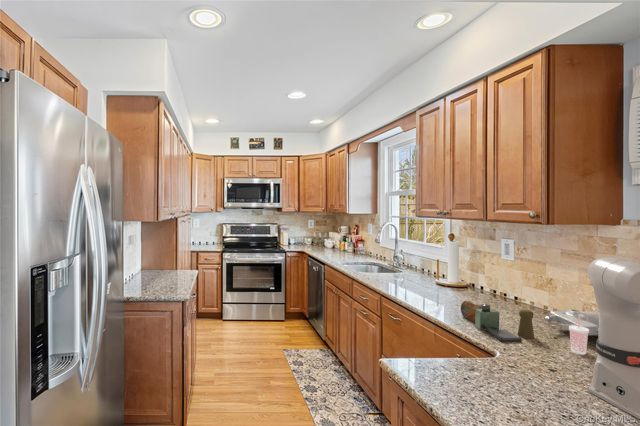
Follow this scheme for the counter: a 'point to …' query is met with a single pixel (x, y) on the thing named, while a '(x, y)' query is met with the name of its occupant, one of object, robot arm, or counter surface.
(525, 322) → the cork
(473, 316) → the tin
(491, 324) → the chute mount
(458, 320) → the counter surface
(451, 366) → the counter surface
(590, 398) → the counter surface
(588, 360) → the counter surface
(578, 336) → the beverage cup
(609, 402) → the robot arm
